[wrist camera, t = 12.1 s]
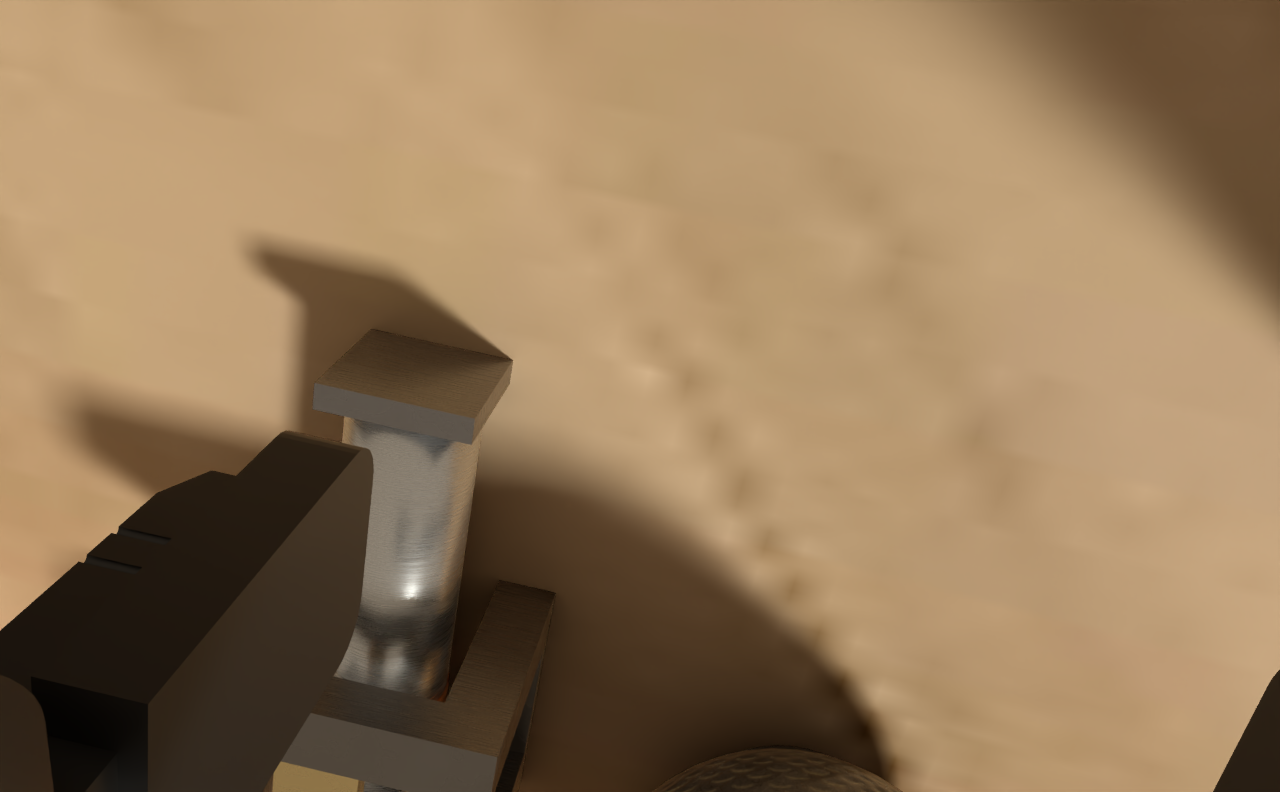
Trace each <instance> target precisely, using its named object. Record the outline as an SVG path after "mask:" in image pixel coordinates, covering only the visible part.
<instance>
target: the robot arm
mask: <svg viewBox="0 0 1280 792" xmlns="http://www.w3.org/2000/svg"><path fill="white" fill-rule="evenodd" d="M373 473H374V464H373V457H372V453H371V451H370V450H369V449H367V448H363V447H359V446H355V445H350V444H346V443H341V442H337V441H332V440H328V439H324V438H319V437H315V436H310V435H306V434H302V433H297V432H293V431H284V432H282V433H280V434H279V435H278V436H277V437H276V438H275V439H274V440H273V441H272V442H271V443H270V444H269V445H267V446H266V447H265V448H264V449H263V450H262V451H261V452H260V453H259V454H258V455H257V456H256V457H255V458H254V459H253V460H252V461H251V462H250V463H249V464H248V465H247V466H246V467H245V468H244V469H243V470H242V471H241V472H240V473H239V474H238V475H237V476H233V475H229V474H224V473H220V472H216V471H209V472H207V473H205V474H202V475H200V476H197V477H195V478H192V479H190V480H188V481H185V482H183V483H180V484H178V485H175V486H173V487H171V488H168V489H166V490H163V491H161V492H158V493H156V494H155V495H154V496H153V497H152V498H151V499H150V500H148V501H147V502H146V503H145V504H144V505H143V506H142V507H140V508H139V509H138V510H137V511H136V512H135V513H134V514H133V515H131V516H130V517H129V518H128V519H127V520H126V521H125V522H123V523H122V524H121V525H120V526H119V530H118V532H117V534H113V533H111V534H110V535H109V536H107V537H106V538H105V539H104V540H103V541H102V542H101V543H100V544H98V545H97V546H96V547H95V548H94V549H93V550H92V551H90V552H89V553H88V554H87V558H86V561H85V562H84V563H81V562H78V563H77V564H76V565H74V566H73V567H72V568H71V569H70V570H69V571H68V572H67V573H65V574H64V575H63V576H62V577H61V578H60V579H59V580H57V581H56V582H55V583H54V584H53V585H52V586H51V587H49V588H48V589H47V590H46V591H45V592H44V593H43V594H41V595H40V596H39V597H38V598H37V599H36V600H35V601H34V602H32V603H31V604H30V605H29V606H28V607H27V608H26V609H24V610H23V611H22V612H21V613H20V614H19V615H18V616H16V617H15V618H14V619H13V620H12V621H11V622H10V623H8V624H7V625H6V626H5V627H4V628H3V629H2V630H1V631H0V792H262V791H263V789H264V788H265V786H266V785H267V783H268V781H269V780H270V778H271V776H272V775H273V773H274V772H275V770H276V768H277V767H278V765H279V763H280V762H281V760H282V759H283V757H284V755H285V754H286V752H287V750H288V749H289V747H290V746H291V744H292V742H293V741H294V739H295V737H296V736H297V734H298V733H299V731H300V729H301V728H302V726H303V725H304V723H305V721H306V720H307V718H308V716H309V715H310V713H311V712H312V710H313V708H314V707H315V705H316V703H317V702H318V700H319V699H320V697H321V695H322V694H323V692H324V690H325V689H326V687H327V686H328V684H329V682H330V681H331V679H332V677H333V676H334V674H335V673H336V671H337V669H338V668H339V666H340V664H341V662H342V660H343V658H344V656H345V654H346V651H347V649H348V647H349V644H350V641H351V638H352V635H353V632H354V629H355V625H356V622H357V618H358V614H359V609H360V603H361V597H362V588H363V578H364V567H365V557H366V547H367V537H368V527H369V516H370V506H371V496H372V486H373ZM1213 792H1280V670H1279V671H1278V672H1277V673H1276V674H1275V676H1274V677H1273V678H1272V680H1271V682H1270V683H1269V685H1268V687H1267V689H1266V691H1265V692H1264V694H1263V696H1262V698H1261V700H1260V702H1259V704H1258V706H1257V708H1256V710H1255V712H1254V714H1253V716H1252V718H1251V719H1250V721H1249V723H1248V725H1247V727H1246V729H1245V731H1244V733H1243V735H1242V737H1241V739H1240V741H1239V743H1238V745H1237V746H1236V748H1235V750H1234V752H1233V754H1232V756H1231V758H1230V760H1229V762H1228V764H1227V766H1226V768H1225V770H1224V772H1223V774H1222V775H1221V777H1220V779H1219V781H1218V783H1217V785H1216V787H1215V789H1214V791H1213Z"/></svg>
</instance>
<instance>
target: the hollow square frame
mask: <svg viewBox="0 0 1280 792" xmlns="http://www.w3.org/2000/svg"><path fill="white" fill-rule="evenodd" d="M554 599H555V593H553V592H548V591H544V590H540V589H535V588H531V587H527V586H522V585H518V584H514V583H509V582H505V581H501V580H500V581H499V583H498V585H497V587H496V590H495V592H494V594H493V596H492V598H491V601H490V603H489V605H488V607H487V610H486V612H485V614H484V616H483V619H482V621H481V623H480V625H479V627H478V630H477V632H476V634H475V636H474V639H473V641H472V643H471V645H470V648H469V650H468V652H467V654H466V657H465V659H464V661H463V663H462V665H461V668H460V670H459V672H458V674H457V677H456V679H455V681H454V683H453V686H452V688H451V690H450V692H449V694H448V697H447V699H446V701H445V703H444V702H440V701H436V700H432V699H428V698H423V697H419V696H415V695H411V694H406V693H402V692H398V691H394V690H389V689H385V688H381V687H377V686H372V685H368V684H364V683H360V682H355V681H351V680H347V679H343V678H338V677H334V676H333V677H332V679H331V681H330V682H329V684H328V686H327V687H326V689H325V690H324V692H323V694H322V695H321V697H320V699H319V700H318V702H317V703H316V705H315V707H314V708H313V710H312V712H311V713H310V715H309V716H308V718H307V720H306V721H305V723H304V725H303V726H302V728H301V729H300V731H299V733H298V734H297V736H296V737H295V739H294V741H293V742H292V744H291V746H290V747H289V749H288V750H287V752H286V754H285V755H284V757H283V759H282V760H281V762H280V763H279V765H278V767H277V768H276V770H275V772H274V773H273V775H272V776H271V778H270V780H269V781H268V783H267V785H266V786H265V788H264V789H263V791H262V792H364V783H365V782H369V783H373V784H377V785H381V786H385V787H390V788H394V789H398V790H402V791H406V792H518V789H519V786H520V783H521V778H522V773H523V767H524V762H525V756H526V751H527V745H528V740H529V735H530V729H531V724H532V718H533V713H534V707H535V702H536V697H537V691H538V686H539V680H540V675H541V669H542V664H543V659H544V653H545V648H546V642H547V637H548V631H549V626H550V621H551V615H552V610H553V604H554Z"/></svg>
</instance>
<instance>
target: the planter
mask: <svg viewBox="0 0 1280 792" xmlns="http://www.w3.org/2000/svg"><path fill="white" fill-rule="evenodd" d="M652 792H902V791H901V790H899V789H898V788H896V787H895V786H893V785H892V784H890V783H888V782H887V781H885V780H884V779H882V778H880V777H879V776H877V775H876V774H874V773H871V772H869V771H867V770H865V769H863V768H860V767H858V766H856V765H854V764H852V763H849V762H847V761H844V760H841V759H837V758H834V757H831V756H828V755H826V754H823V753H819V752H816V751H813V750H810V749H804V748H798V747H793V746H765V747H757V748H752V749H748V750H743V751H740V752H736V753H731V754H726V755H722V756H719V757H716V758H713V759H711V760H708V761H705V762H702V763H700V764H697V765H694V766H692V767H691V768H689V769H687V770H685V771H683V772H681V773H679V774H678V775H676V776H674V777H672V778H670V779H669V780H667V781H665V782H664V783H663V784H662V785H660V786H659V787H658V788H656V789H655V790H654V791H652Z"/></svg>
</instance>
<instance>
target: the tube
mask: <svg viewBox="0 0 1280 792" xmlns="http://www.w3.org/2000/svg"><path fill="white" fill-rule="evenodd" d="M512 364H513V360H510V359H505V358H501V357H496V356H492V355H487V354H483V353H478V352H473V351H469V350H464V349H460V348H455V347H451V346H446V345H442V344H437V343H433V342H428V341H424V340H419V339H415V338H410V337H406V336H401V335H396V334H392V333H387V332H383V331H378V330H374V329H371V330H370V331H369V332H368V333H367V334H366V335H365V336H364V337H363V338H362V339H360V340H359V341H358V342H357V343H356V344H355V345H354V346H353V347H352V348H351V349H350V350H349V351H348V352H347V353H346V354H345V355H344V356H342V357H341V358H340V359H339V360H338V361H337V362H336V363H335V364H334V365H333V366H332V367H331V368H330V369H329V370H328V371H327V372H325V373H324V374H323V375H322V376H321V377H320V378H319V379H318V380H317V381H316V382H315V383H314V396H313V410H318V411H322V412H326V413H331V414H335V415H340V416H344V425H343V437H342V443H346V444H350V445H355V446H359V447H363V448H367V449H369V450H370V451H371V453H372V457H373V464H374V473H373V486H372V496H371V506H370V516H369V527H368V537H367V547H366V557H365V567H364V578H363V588H362V597H361V603H360V609H359V614H358V618H357V622H356V625H355V629H354V632H353V635H352V638H351V641H350V644H349V647H348V649H347V651H346V654H345V656H344V658H343V660H342V662H341V664H340V666H339V668H338V669H337V671H336V673H335V674H334V677H338V678H343V679H347V680H351V681H355V682H360V683H364V684H368V685H372V686H377V687H381V688H385V689H389V690H394V691H398V692H402V693H406V694H411V695H415V696H419V697H423V698H428V699H432V700H436V701H440V702H444V703H445V701H446V699H447V695H448V688H449V681H450V677H449V664H450V656H451V649H452V642H453V635H454V628H455V621H456V614H457V606H458V599H459V592H460V585H461V578H462V571H463V564H464V557H465V549H466V542H467V535H468V528H469V521H470V514H471V507H472V500H473V492H474V485H475V478H476V471H477V464H478V457H479V450H480V443H481V435H482V428H483V426H484V424H485V422H486V421H487V419H488V418H489V416H490V414H491V413H492V411H493V410H494V408H495V406H496V405H497V403H498V402H499V400H500V398H501V397H502V395H503V394H504V392H505V390H506V389H507V387H508V385H509V384H510V377H511V371H512ZM364 792H406V791H402V790H398V789H394V788H390V787H385V786H381V785H377V784H373V783H369V782H365V783H364Z"/></svg>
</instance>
